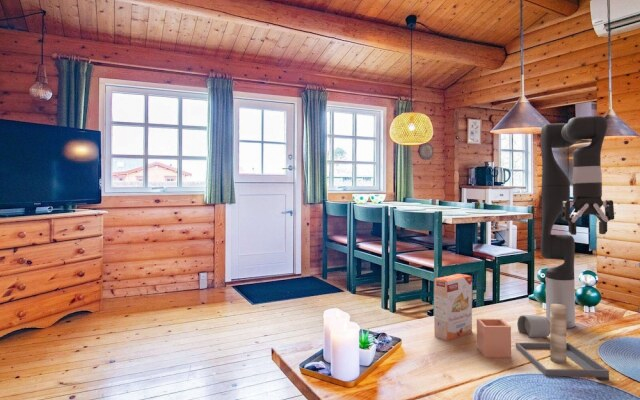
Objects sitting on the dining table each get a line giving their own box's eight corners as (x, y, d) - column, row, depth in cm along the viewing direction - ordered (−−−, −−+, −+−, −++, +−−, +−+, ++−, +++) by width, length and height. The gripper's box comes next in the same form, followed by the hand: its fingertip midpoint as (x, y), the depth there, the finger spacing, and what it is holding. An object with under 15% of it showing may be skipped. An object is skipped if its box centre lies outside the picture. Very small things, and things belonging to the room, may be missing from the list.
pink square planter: (477, 350, 130) (476, 318, 130) (502, 350, 129) (501, 318, 129) (484, 360, 122) (484, 326, 122) (511, 360, 122) (510, 326, 121)
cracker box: (448, 344, 136) (447, 280, 135) (433, 339, 140) (432, 278, 140) (473, 334, 144) (472, 275, 144) (458, 330, 149) (457, 272, 148)
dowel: (547, 358, 120) (547, 303, 120) (561, 358, 120) (562, 303, 120) (554, 363, 116) (554, 307, 116) (569, 364, 116) (569, 307, 116)
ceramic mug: (553, 340, 137) (552, 317, 137) (530, 341, 136) (530, 318, 136) (532, 330, 148) (531, 308, 148) (511, 331, 146) (510, 310, 146)
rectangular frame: (515, 350, 129) (515, 342, 129) (569, 350, 128) (568, 342, 128) (545, 379, 109) (545, 369, 109) (609, 380, 108) (608, 370, 108)
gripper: (604, 181, 130) (604, 232, 130) (556, 182, 131) (557, 233, 131) (619, 180, 122) (620, 235, 122) (569, 182, 123) (569, 236, 123)
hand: (587, 234), depth 127 cm, fingers open, 8 cm apart
